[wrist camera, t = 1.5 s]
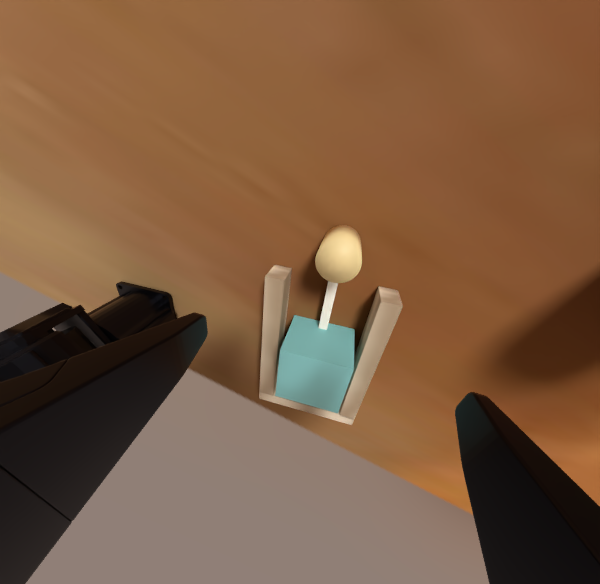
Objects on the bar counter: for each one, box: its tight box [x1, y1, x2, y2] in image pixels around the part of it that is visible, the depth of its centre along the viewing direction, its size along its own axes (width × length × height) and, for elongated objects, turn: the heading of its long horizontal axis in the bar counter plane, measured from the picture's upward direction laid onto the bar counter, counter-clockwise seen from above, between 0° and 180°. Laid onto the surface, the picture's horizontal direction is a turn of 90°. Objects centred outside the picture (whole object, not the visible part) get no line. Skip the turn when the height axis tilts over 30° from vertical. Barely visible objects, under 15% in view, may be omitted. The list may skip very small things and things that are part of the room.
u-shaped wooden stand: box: [259, 265, 403, 425], centre depth 23 cm, size 11×16×2 cm
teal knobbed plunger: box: [275, 225, 362, 413], centre depth 19 cm, size 6×16×5 cm, turn 172°
